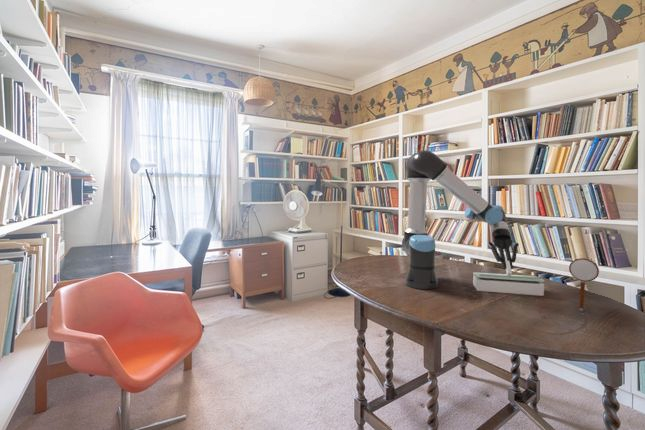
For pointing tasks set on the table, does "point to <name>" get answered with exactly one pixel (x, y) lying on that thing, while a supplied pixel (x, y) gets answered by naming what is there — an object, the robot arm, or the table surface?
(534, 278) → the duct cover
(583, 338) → the table surface
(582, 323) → the table surface
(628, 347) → the table surface
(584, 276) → the magnifying glass
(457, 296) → the table surface
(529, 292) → the cable duct
